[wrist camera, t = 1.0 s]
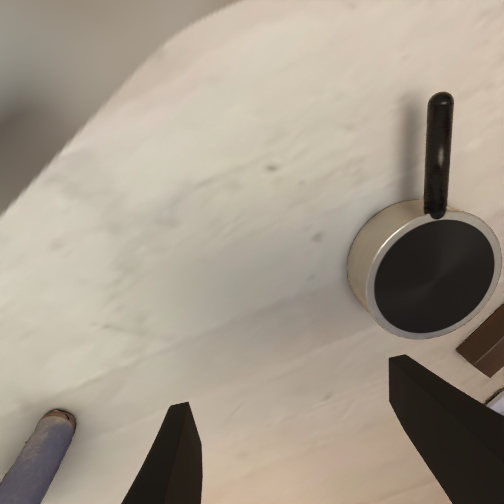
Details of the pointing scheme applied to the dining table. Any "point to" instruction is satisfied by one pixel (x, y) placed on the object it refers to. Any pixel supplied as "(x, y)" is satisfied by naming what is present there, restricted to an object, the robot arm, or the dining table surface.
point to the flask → (38, 460)
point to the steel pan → (426, 251)
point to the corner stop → (486, 345)
